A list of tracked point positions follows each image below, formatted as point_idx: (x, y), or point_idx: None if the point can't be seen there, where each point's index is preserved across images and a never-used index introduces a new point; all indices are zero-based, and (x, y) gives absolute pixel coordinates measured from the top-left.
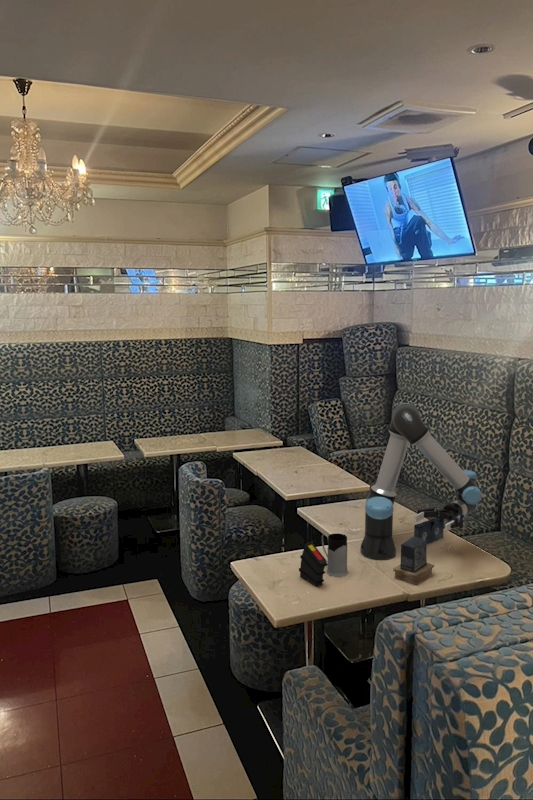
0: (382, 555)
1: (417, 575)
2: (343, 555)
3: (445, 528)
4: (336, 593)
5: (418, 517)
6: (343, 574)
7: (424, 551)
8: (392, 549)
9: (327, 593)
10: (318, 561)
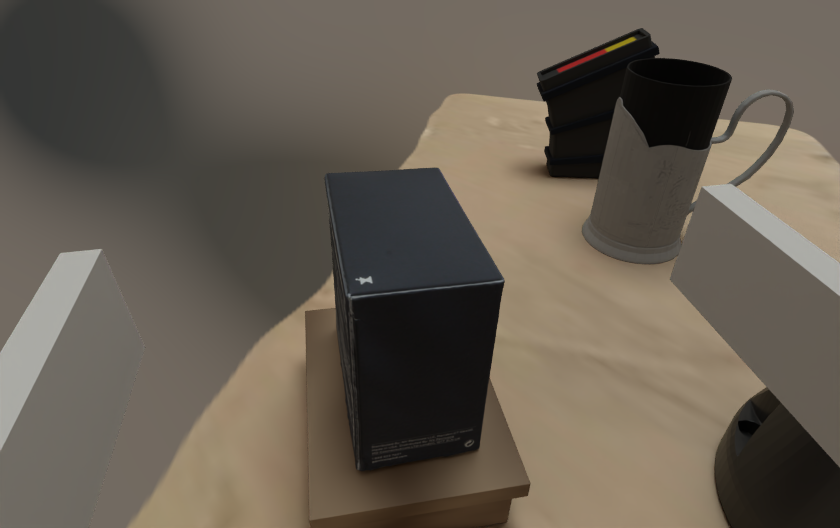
0: (727, 431)
1: (305, 323)
2: (608, 147)
3: (117, 314)
4: (475, 174)
5: (739, 276)
6: (587, 227)
7: (346, 346)
8: (781, 509)
9: (491, 164)
10: (552, 70)
